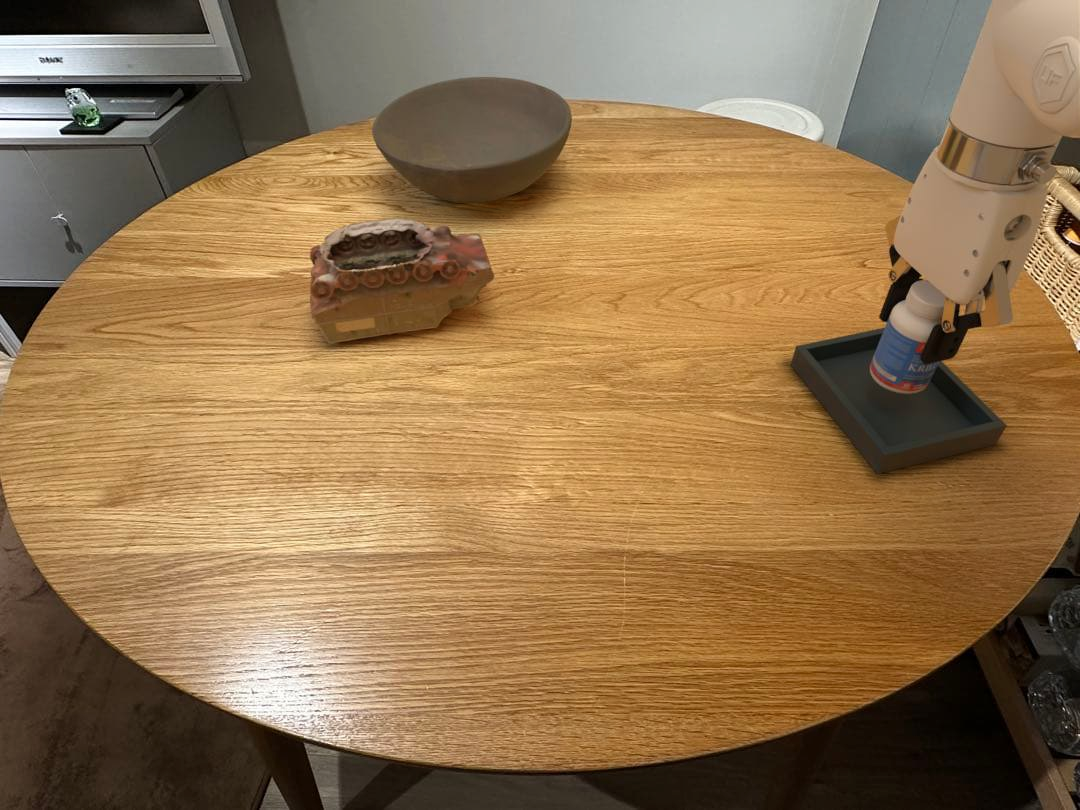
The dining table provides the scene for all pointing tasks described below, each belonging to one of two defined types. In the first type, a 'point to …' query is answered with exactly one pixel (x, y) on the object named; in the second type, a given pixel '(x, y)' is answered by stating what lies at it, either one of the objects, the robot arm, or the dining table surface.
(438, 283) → the brown toy tank
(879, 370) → the pill bottle
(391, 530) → the dining table surface
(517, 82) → the bowl
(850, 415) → the tray
